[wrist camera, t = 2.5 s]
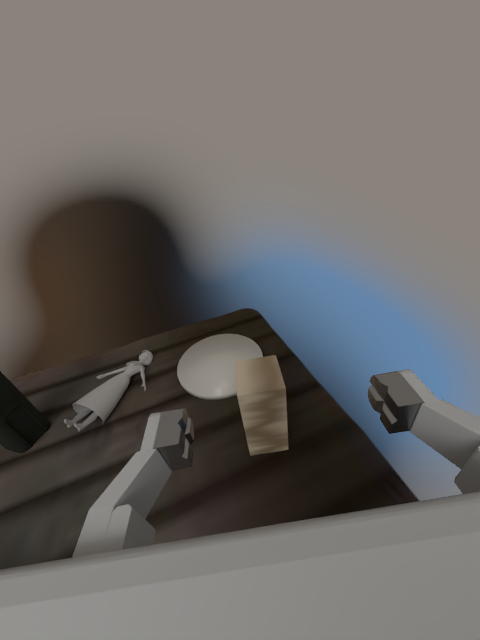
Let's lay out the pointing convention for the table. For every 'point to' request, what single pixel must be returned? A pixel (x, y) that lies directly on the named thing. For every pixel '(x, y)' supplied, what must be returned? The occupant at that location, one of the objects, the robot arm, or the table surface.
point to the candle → (18, 419)
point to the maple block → (262, 404)
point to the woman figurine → (108, 393)
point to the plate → (215, 365)
